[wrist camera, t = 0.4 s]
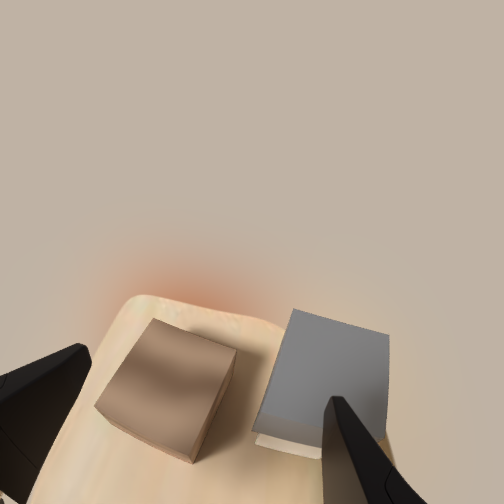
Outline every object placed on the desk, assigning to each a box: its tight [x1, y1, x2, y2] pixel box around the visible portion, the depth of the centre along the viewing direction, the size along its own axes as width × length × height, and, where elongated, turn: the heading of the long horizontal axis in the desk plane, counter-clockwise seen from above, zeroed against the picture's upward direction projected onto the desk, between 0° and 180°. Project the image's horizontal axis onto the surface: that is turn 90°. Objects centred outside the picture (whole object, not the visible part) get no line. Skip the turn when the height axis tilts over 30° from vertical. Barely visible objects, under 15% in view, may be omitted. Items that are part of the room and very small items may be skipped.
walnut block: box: [94, 318, 237, 464], centre depth 21 cm, size 10×8×4 cm
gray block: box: [252, 309, 389, 448], centre depth 17 cm, size 8×7×4 cm
